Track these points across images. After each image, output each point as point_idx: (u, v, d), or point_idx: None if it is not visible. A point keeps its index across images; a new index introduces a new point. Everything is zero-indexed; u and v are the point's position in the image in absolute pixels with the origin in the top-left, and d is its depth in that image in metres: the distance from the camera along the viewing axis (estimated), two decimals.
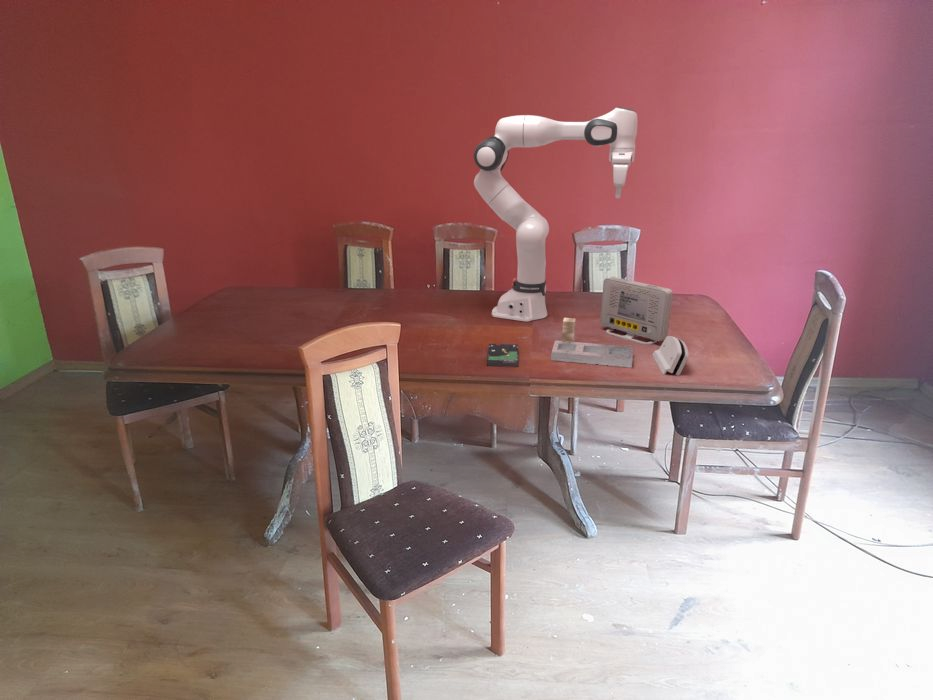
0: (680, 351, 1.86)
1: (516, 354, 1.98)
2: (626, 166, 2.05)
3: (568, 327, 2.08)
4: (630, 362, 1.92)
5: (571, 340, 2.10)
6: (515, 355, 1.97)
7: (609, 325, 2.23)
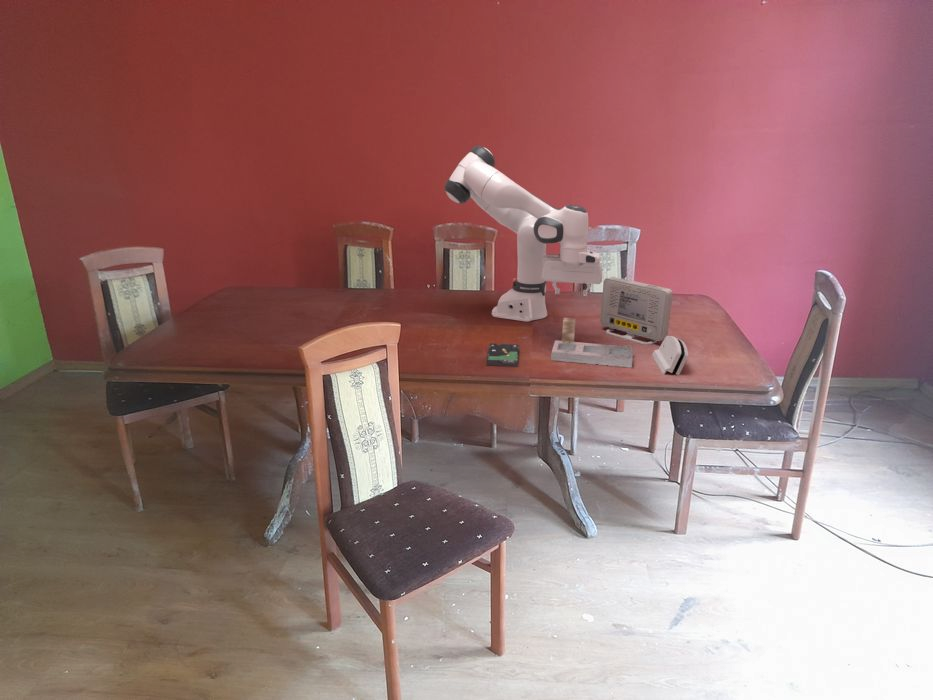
0: (680, 351, 1.86)
1: (516, 354, 1.98)
2: None
3: (568, 327, 2.08)
4: (630, 362, 1.92)
5: (571, 340, 2.10)
6: (515, 355, 1.97)
7: (609, 325, 2.23)
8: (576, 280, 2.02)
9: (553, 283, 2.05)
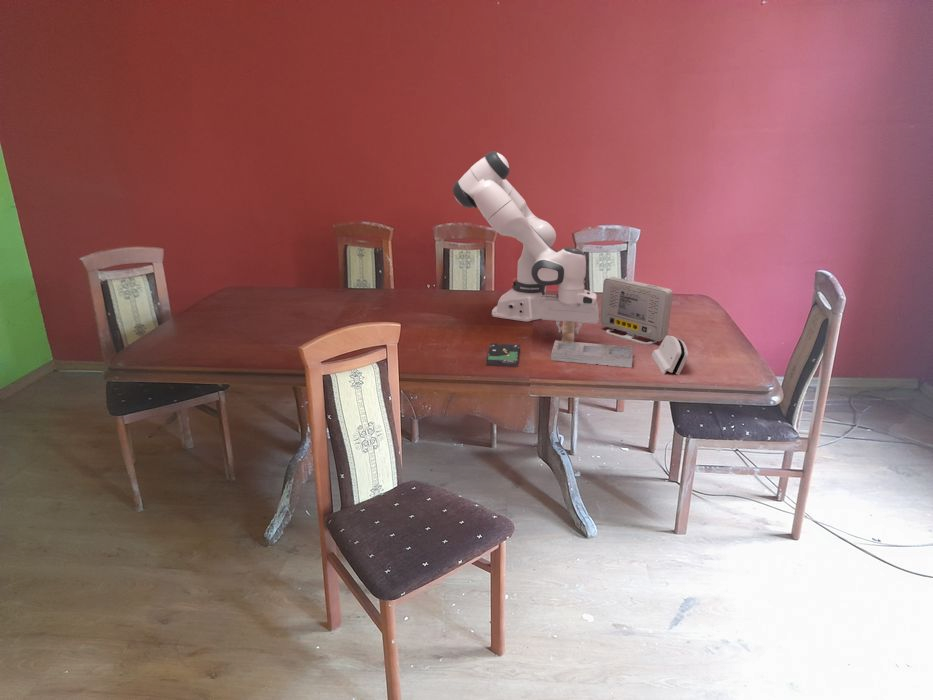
0: (680, 351, 1.87)
1: (516, 354, 1.98)
2: None
3: (568, 327, 2.08)
4: (630, 362, 1.92)
5: (571, 340, 2.10)
6: (515, 355, 1.97)
7: (609, 325, 2.23)
8: (573, 319, 2.07)
9: (557, 322, 2.10)
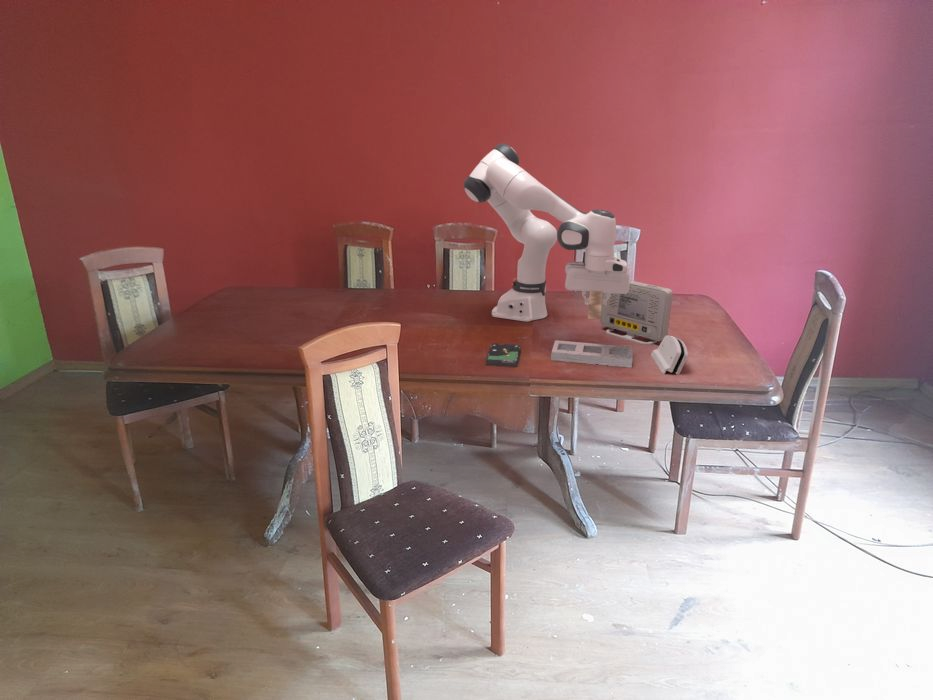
0: (679, 350, 1.87)
1: (516, 354, 1.98)
2: (627, 271, 1.89)
3: (595, 298, 1.91)
4: (630, 362, 1.92)
5: (598, 312, 1.92)
6: (515, 355, 1.97)
7: (609, 325, 2.23)
8: (601, 289, 1.90)
9: (583, 293, 1.92)
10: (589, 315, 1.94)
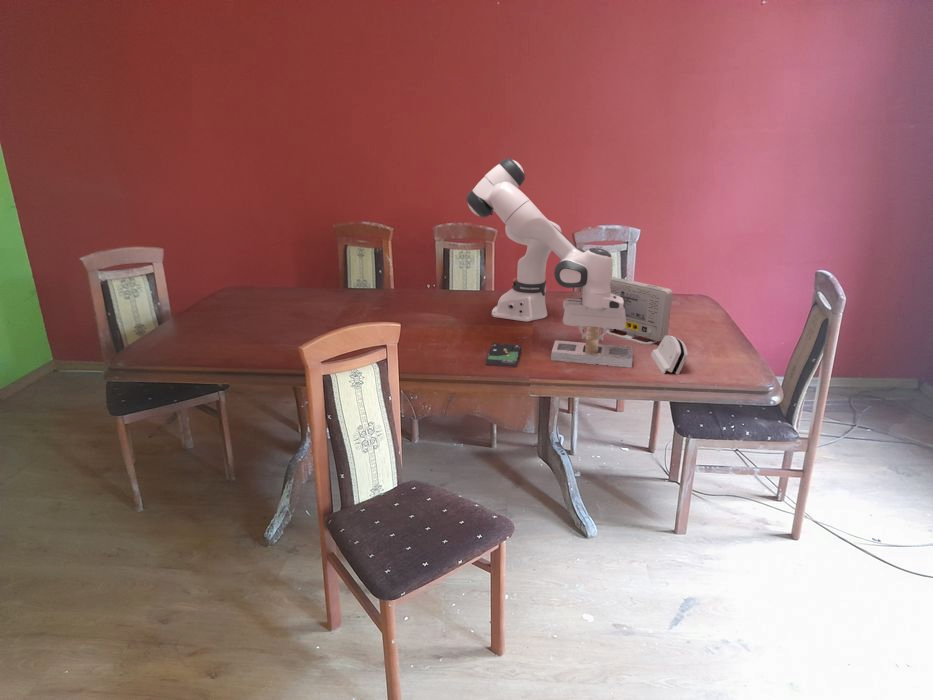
0: (679, 350, 1.87)
1: (516, 354, 1.98)
2: (623, 307, 1.94)
3: (592, 333, 1.95)
4: (630, 362, 1.92)
5: (595, 347, 1.97)
6: (515, 356, 1.97)
7: None
8: (598, 325, 1.94)
9: (580, 328, 1.97)
10: (586, 349, 1.98)
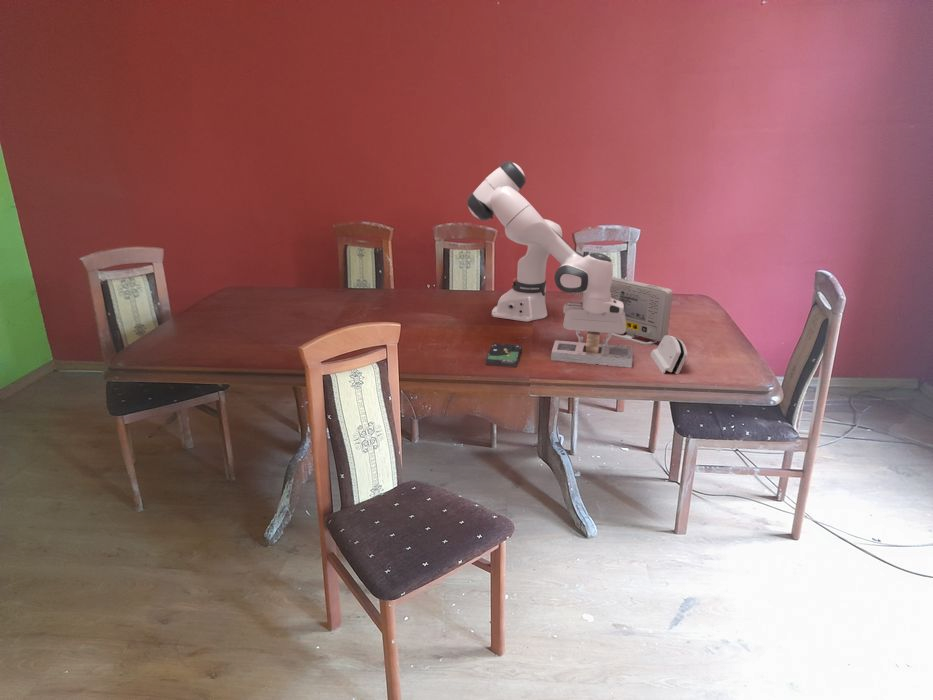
0: (679, 350, 1.87)
1: (517, 354, 1.98)
2: (623, 311, 1.94)
3: (592, 340, 1.97)
4: (630, 362, 1.92)
5: None
6: (515, 356, 1.97)
7: None
8: (599, 329, 1.95)
9: (576, 332, 1.98)
10: None
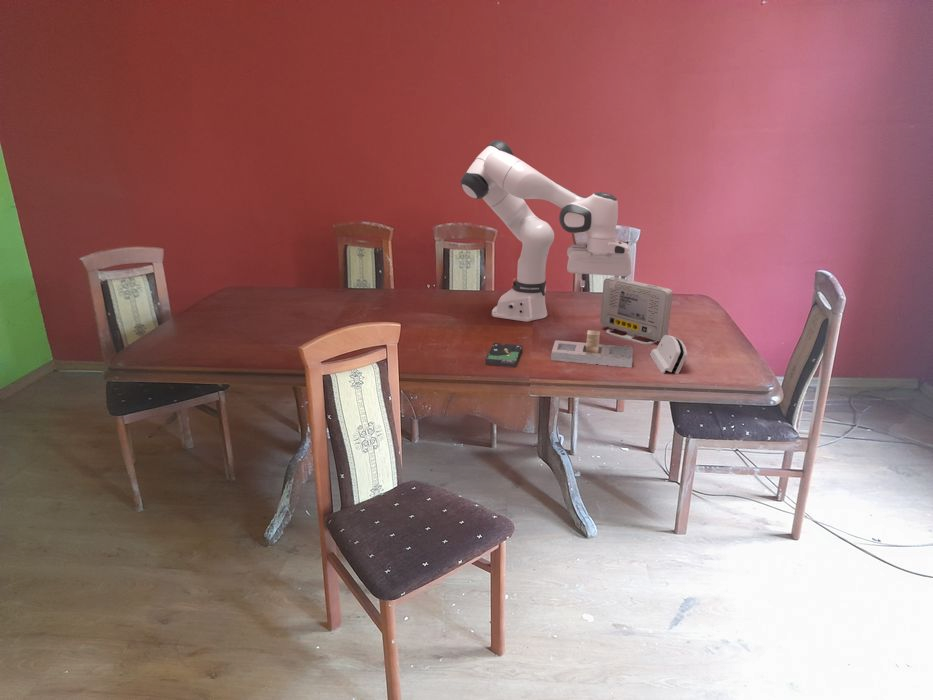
0: (679, 350, 1.87)
1: (517, 354, 1.98)
2: (628, 253, 1.91)
3: (592, 340, 1.97)
4: (630, 362, 1.92)
5: None
6: (515, 356, 1.97)
7: (609, 325, 2.23)
8: (603, 272, 1.91)
9: (578, 275, 1.94)
10: None
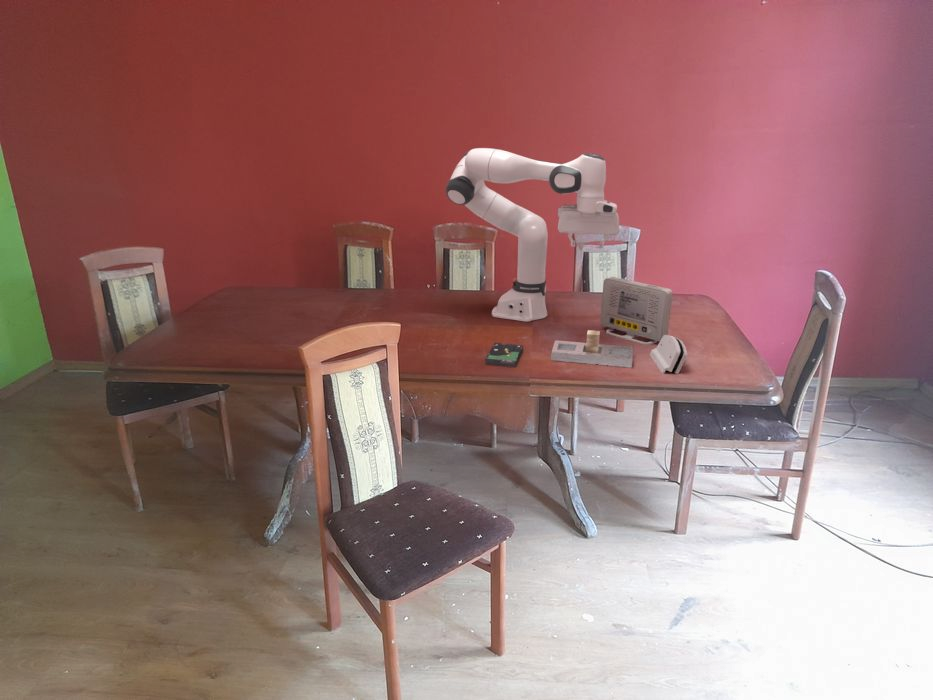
0: (679, 350, 1.87)
1: (517, 355, 1.98)
2: (617, 213, 1.98)
3: (592, 340, 1.97)
4: (630, 362, 1.92)
5: None
6: (515, 356, 1.97)
7: (609, 325, 2.23)
8: (592, 231, 1.99)
9: (569, 235, 2.02)
10: None
